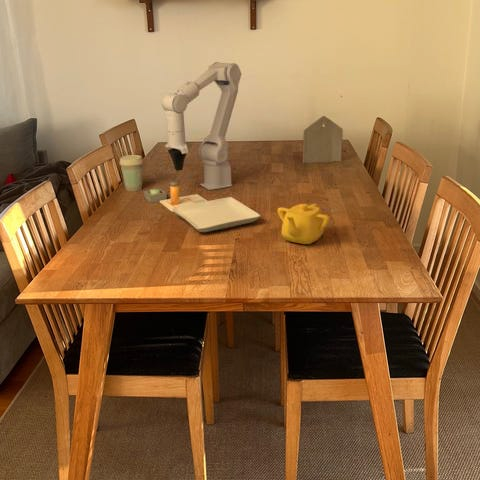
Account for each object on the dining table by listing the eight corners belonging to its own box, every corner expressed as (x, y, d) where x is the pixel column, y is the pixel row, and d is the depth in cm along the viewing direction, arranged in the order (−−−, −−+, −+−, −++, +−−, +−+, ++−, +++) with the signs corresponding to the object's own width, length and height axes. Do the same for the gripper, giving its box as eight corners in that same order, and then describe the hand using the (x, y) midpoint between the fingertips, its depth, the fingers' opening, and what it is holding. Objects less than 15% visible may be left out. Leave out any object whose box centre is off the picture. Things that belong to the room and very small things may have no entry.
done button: (158, 196, 202) (157, 187, 201) (161, 198, 199) (161, 190, 198) (149, 197, 200) (148, 189, 199) (152, 200, 198) (151, 191, 196)
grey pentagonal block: (337, 157, 249) (339, 111, 242) (341, 161, 241) (343, 115, 234) (299, 158, 248) (300, 113, 241) (303, 163, 241) (304, 116, 233)
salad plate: (198, 238, 166) (197, 227, 165) (171, 217, 183) (171, 207, 182) (262, 225, 175) (262, 214, 173) (231, 206, 192) (230, 196, 191)
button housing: (160, 195, 204) (160, 188, 203) (166, 199, 199) (166, 192, 198) (144, 198, 201) (144, 191, 200) (150, 202, 196) (149, 195, 195)
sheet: (197, 195, 202) (197, 193, 202) (211, 204, 193) (211, 203, 192) (159, 202, 197) (159, 200, 196) (172, 212, 187) (172, 210, 186)
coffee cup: (140, 193, 206) (137, 160, 202) (118, 192, 208) (115, 159, 203) (149, 186, 214) (146, 154, 209) (127, 185, 216) (124, 154, 211)
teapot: (332, 247, 157) (334, 211, 153) (286, 251, 155) (287, 215, 152) (317, 229, 170) (318, 196, 166) (275, 233, 168) (275, 199, 164)
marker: (177, 201, 195) (177, 180, 192) (181, 204, 192) (180, 182, 190) (169, 203, 193) (168, 181, 191) (172, 205, 191) (171, 184, 188)
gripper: (157, 128, 197) (160, 166, 202) (172, 136, 185) (175, 176, 190) (176, 125, 200) (179, 164, 205) (192, 133, 188) (195, 173, 193)
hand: (179, 170), depth 198 cm, fingers closed
